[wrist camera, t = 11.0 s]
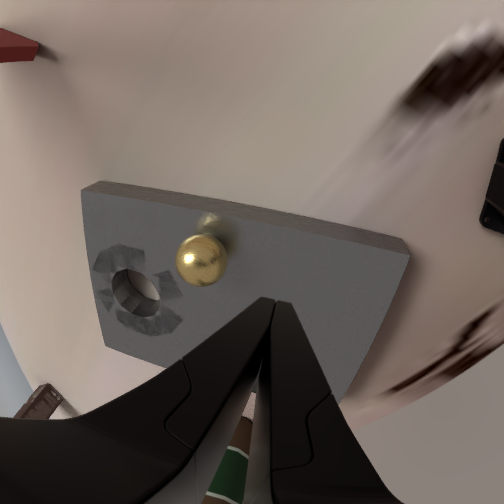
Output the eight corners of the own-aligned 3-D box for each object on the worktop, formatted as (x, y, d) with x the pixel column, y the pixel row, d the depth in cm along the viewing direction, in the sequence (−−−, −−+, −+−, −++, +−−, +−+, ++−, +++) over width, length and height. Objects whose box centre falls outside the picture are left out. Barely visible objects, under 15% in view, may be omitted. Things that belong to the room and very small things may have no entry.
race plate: (401, 238, 20) (410, 255, 18) (337, 387, 27) (336, 407, 25) (100, 180, 22) (80, 190, 20) (117, 330, 30) (105, 345, 28)
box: (47, 381, 42) (12, 427, 32) (64, 398, 44) (32, 445, 33) (37, 384, 45) (5, 425, 34) (53, 400, 46) (23, 442, 36)
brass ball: (236, 231, 19) (221, 255, 16) (231, 275, 21) (216, 303, 18) (187, 221, 20) (165, 242, 17) (186, 264, 21) (166, 289, 18)
